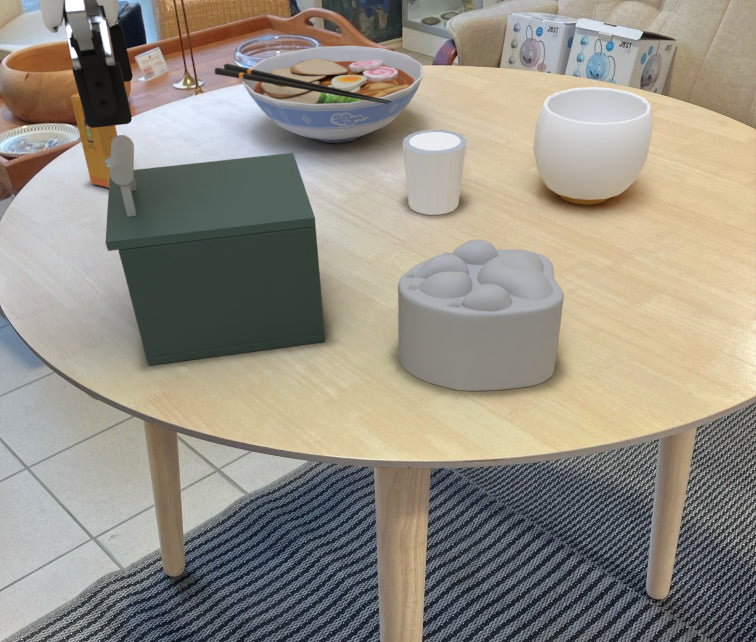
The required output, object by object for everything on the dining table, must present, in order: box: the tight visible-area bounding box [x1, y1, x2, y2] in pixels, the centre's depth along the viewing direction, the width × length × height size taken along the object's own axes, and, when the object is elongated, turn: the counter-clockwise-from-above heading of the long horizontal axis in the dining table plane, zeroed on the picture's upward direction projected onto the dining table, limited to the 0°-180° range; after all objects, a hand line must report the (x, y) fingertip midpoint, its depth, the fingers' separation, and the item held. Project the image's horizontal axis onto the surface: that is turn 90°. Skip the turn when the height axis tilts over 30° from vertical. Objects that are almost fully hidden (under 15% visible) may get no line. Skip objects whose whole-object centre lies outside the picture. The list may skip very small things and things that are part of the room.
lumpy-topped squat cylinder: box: [397, 239, 565, 392], centre depth 71 cm, size 10×13×9 cm
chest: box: [118, 226, 326, 366], centre depth 76 cm, size 16×14×11 cm
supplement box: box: [70, 92, 118, 189], centre depth 99 cm, size 3×3×10 cm
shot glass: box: [402, 129, 468, 216], centre depth 93 cm, size 7×7×7 cm
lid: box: [105, 134, 317, 252], centre depth 71 cm, size 16×14×5 cm
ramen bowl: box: [214, 45, 424, 144], centre depth 109 cm, size 25×23×8 cm
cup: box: [532, 86, 654, 206], centre depth 93 cm, size 12×12×10 cm
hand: (112, 102), depth 66 cm, fingers open, 9 cm apart
